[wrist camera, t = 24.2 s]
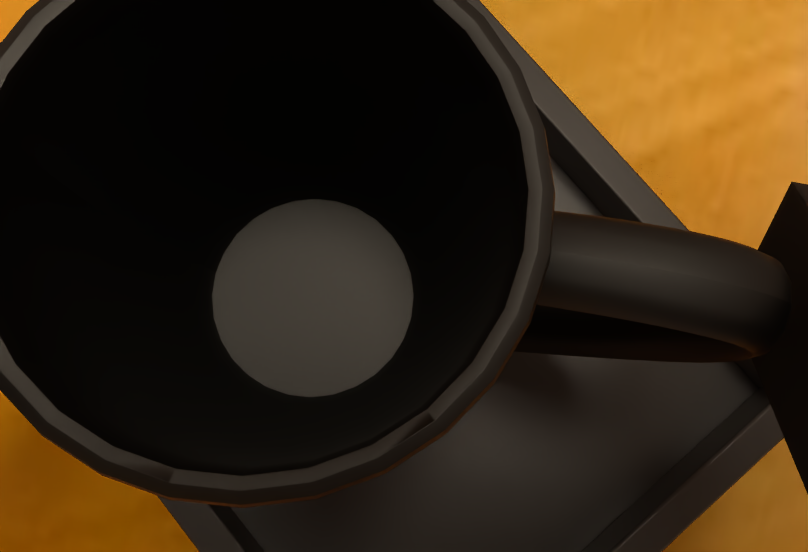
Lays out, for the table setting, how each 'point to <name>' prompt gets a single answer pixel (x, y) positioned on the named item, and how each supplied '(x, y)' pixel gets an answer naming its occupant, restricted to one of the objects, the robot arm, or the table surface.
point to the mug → (307, 242)
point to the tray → (543, 426)
